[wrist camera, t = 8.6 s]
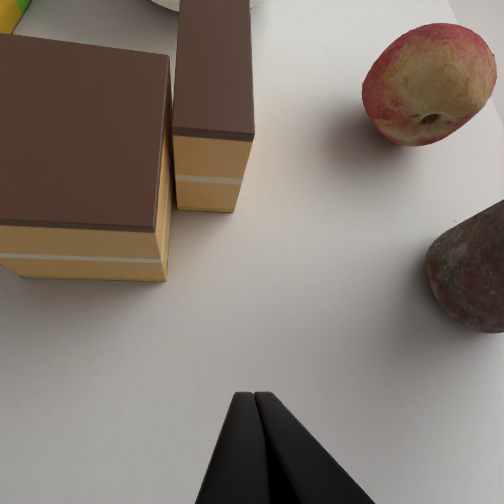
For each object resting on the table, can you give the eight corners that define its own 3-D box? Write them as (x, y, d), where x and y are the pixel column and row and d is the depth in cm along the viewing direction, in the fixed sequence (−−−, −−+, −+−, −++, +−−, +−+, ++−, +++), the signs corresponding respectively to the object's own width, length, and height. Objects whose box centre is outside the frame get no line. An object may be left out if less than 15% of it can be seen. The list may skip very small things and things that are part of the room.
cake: (166, 281, 21) (154, 228, 13) (19, 278, 19) (-84, 215, 12) (175, 155, 24) (169, 54, 16) (49, 144, 23) (-19, 28, 15)
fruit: (332, 138, 27) (387, 45, 19) (363, 75, 30) (420, -26, 22) (422, 184, 27) (511, 109, 19) (443, 117, 30) (528, 29, 22)
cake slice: (234, 213, 23) (255, 134, 16) (176, 210, 22) (171, 126, 15) (232, 70, 27) (248, -45, 20) (184, 64, 27) (182, -56, 19)
